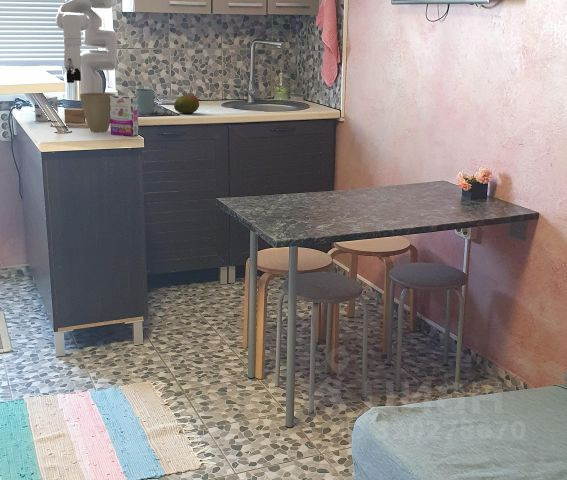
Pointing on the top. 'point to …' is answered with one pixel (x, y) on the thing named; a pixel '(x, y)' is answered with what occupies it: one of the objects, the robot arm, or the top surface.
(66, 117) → the sanding block
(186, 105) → the fruit
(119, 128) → the candy bar box
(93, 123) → the plant pot
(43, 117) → the light bulb box
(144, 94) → the blue-green cup
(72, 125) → the board
